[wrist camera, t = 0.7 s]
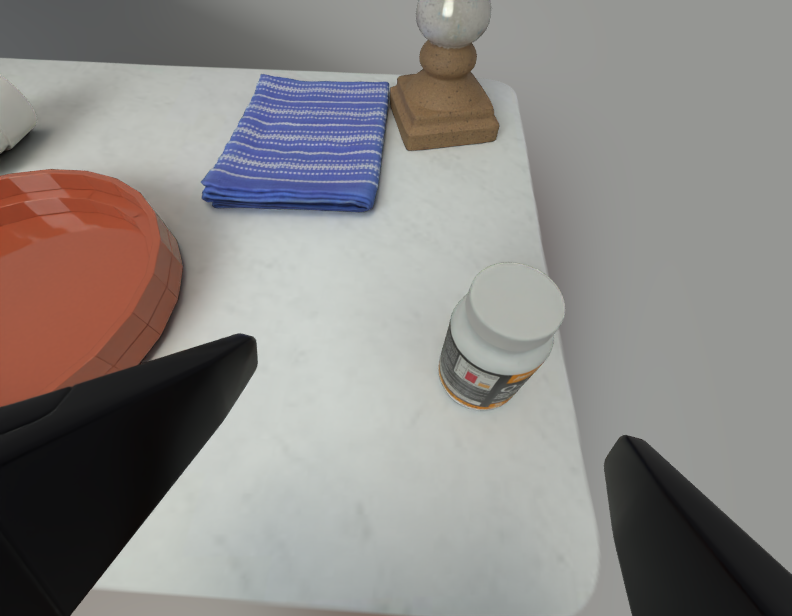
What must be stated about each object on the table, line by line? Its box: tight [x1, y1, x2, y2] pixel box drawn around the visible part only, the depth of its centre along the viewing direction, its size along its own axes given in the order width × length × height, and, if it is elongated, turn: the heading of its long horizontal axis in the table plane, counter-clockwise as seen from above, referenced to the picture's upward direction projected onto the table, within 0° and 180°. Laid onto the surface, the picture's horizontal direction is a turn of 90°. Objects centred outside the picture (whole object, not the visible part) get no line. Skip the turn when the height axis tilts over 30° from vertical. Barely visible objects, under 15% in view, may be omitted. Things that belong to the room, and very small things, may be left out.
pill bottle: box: [439, 262, 565, 411], centre depth 21 cm, size 6×6×10 cm
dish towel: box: [201, 74, 389, 212], centre depth 39 cm, size 17×24×3 cm
